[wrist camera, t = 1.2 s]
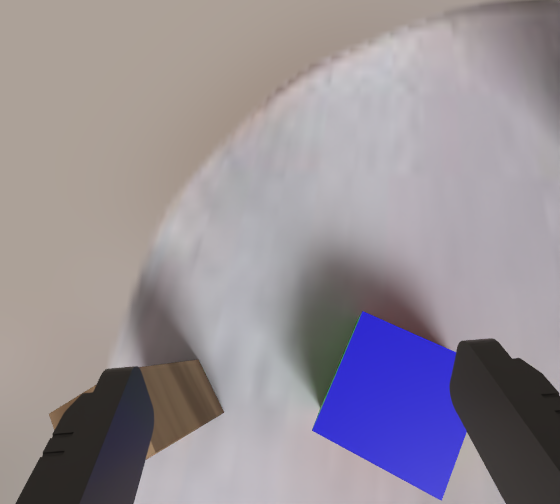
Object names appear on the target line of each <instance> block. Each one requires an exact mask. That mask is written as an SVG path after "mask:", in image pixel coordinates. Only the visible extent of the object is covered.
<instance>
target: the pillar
mask: <svg viewBox="0 0 560 504" xmlns="http://www.w3.org/2000/svg"><path fill="white" fill-rule="evenodd" d="M139 368H140V370H141V372H142V375H143V378H144V381H145V384H146V387H147V390H148V393H149V396H150V399H151V402H152V405H153V409H154V429H153V434H152V438H151V441H150V445H149V449H148V452H147V456H146V459H148V458H150V457H151V456H153V455H155V454H156V453H158V452H160V451H161V450H163V449H165V448H166V447H168V446H170V445H171V444H173V443H175V442H176V441H178V440H180V439H181V438H183V437H185V436H186V435H188V434H190V433H191V432H193V431H194V430H196V429H198V428H199V427H201V426H203V425H204V424H206V423H208V422H209V421H211V420H213V419H214V418H216V417H218V416H219V415H221V414H222V413H224V411H223V409H222V407H221V405H220V403H219V401H218V399H217V397H216V395H215V393H214V391H213V389H212V387H211V385H210V382H209V380H208V378H207V376H206V374H205V372H204V370H203V368H202V366H201V364H200V362H199V360H191V361H183V362H175V363H168V364H160V365H153V366H145V367H139ZM95 387H96V385H95V386H94V387H92V388H90V389H89V390H87V391H85V392H84V393H91V392H93V391H94V389H95ZM80 395H81V394H80ZM80 395H79V396H80ZM79 396H77V397H76V398H74V399H73V400H71V401H69V402H68V403H66V404H64V405H63V406H61V407H60V408H58V409H56V410H55V411H53V412H51V413H50V414H49V416H50V418H51V421H52V424H53V427H54V430H55V428H56V427H57V425H58V423H59V421H60V419H61V417H62V415H63V413H64V412H65V411H66V410H67V409H68V408H69V407H70V406H71V405H72V404H73V403H74V402H75V401H76V399H77V398H78V397H79Z"/></svg>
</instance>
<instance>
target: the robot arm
mask: <svg viewBox="0 0 560 504" xmlns="http://www.w3.org/2000/svg"><path fill="white" fill-rule="evenodd" d="M449 388H450V396H451V400H452V404H453V406H454V408H455V411H456V412H457V414H458V416H459V418H460V420H461V422H462V423H463V425H464V427H465V429H466V431H467V433H468V435H469V436H470V438H471V440H472V442H473V444H474V446H475V447H476V449H477V451H478V453H479V455H480V457H481V459H482V460H483V462H484V464H485V466H486V468H487V470H488V471H489V473H490V475H491V477H492V479H493V481H494V483H495V484H496V486H497V488H498V490H499V492H500V494H501V495H502V497H503V499H504V501H505V503H506V504H560V396H559V392H558V391H557V390H556V389H555V388H554V387H553V385H552V384H551V383H550V382H549V381H548V380H547V379H546V377H545V376H544V375H543V374H542V373H541V372H539V371H538V370H536V369H535V368H533V367H532V366H530V365H529V364H528V363H526V362H525V361H523V360H522V359H520V358H516V359H512V358H511V357H510V356H509V354H508V353H507V352H506V351H505V350H504V348H503V347H502V346H501V345H500V343H499V342H498V341H496V340H495V339H492V338H491V339H478V340H466V341H461V342H460V343H459V344H458V347H457V352H456V356H455V361H454V365H453V370H452V375H451V379H450V386H449ZM153 429H154V409H153V405H152V402H151V399H150V396H149V393H148V390H147V387H146V384H145V381H144V378H143V375H142V372H141V370H140V368H139V367H124V368H112V369H106V370H105V371H104V372H103V373H102V375H101V376H100V379H99V381H98V383H97V385H96V387H95V389H94V391H93V392H91V393H82V394H81V395H80V396H79V397H78V398H77V399H76V401H75V402H74V403H73V404H72V405H71V406H70V407H69V408H68V409H67V410H66V411H65V412H64V413H63V415H62V417H61V419H60V421H59V423H58V425H57V427H56V428H55V430H54V432H53V437H52V438H50V440H49V442H48V444H47V445H46V447H45V449H44V451H43V456H42V457H40V459H39V460H38V462H37V464H36V466H35V468H34V470H33V472H32V474H31V475H30V477H29V479H28V481H27V483H26V485H25V487H24V489H23V490H22V493H21V494H20V496H19V498H18V500H17V502H16V504H133V503H134V500H135V496H136V492H137V489H138V485H139V481H140V478H141V474H142V470H143V467H144V463H145V460H146V456H147V452H148V449H149V445H150V441H151V438H152V434H153Z"/></svg>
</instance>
